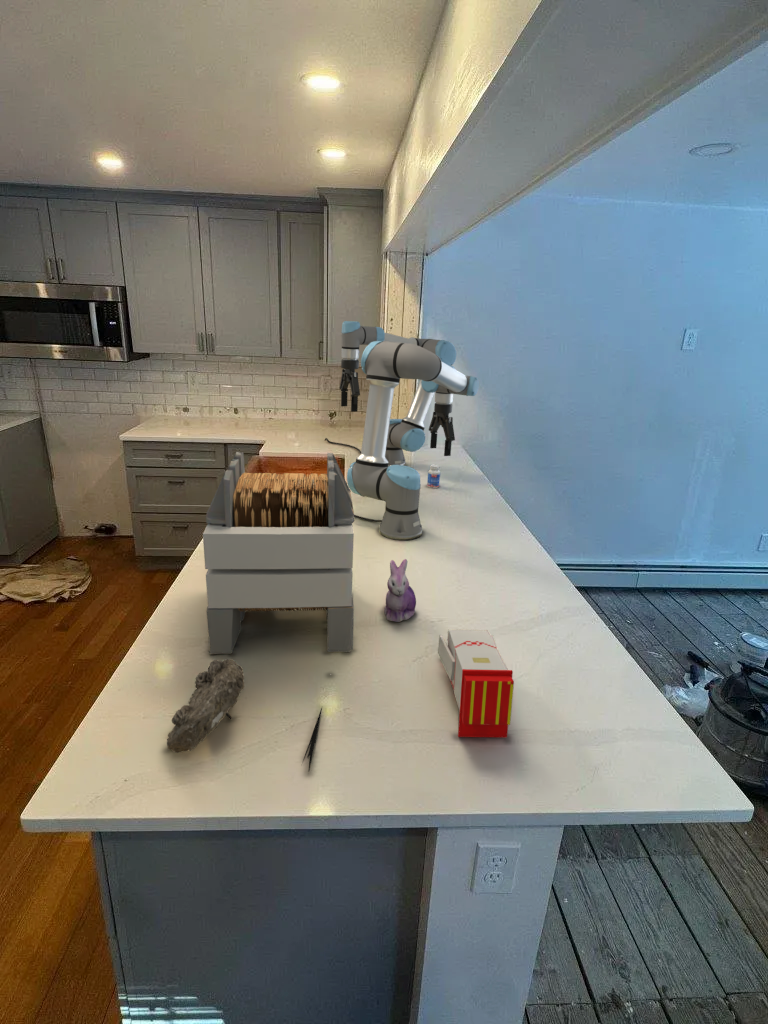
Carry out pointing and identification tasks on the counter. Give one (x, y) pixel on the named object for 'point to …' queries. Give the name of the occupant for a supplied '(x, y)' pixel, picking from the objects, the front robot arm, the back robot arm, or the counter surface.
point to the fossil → (206, 705)
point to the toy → (478, 682)
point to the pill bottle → (433, 476)
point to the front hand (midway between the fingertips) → (440, 451)
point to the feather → (313, 740)
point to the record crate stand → (279, 550)
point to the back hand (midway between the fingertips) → (349, 408)
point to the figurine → (399, 594)
